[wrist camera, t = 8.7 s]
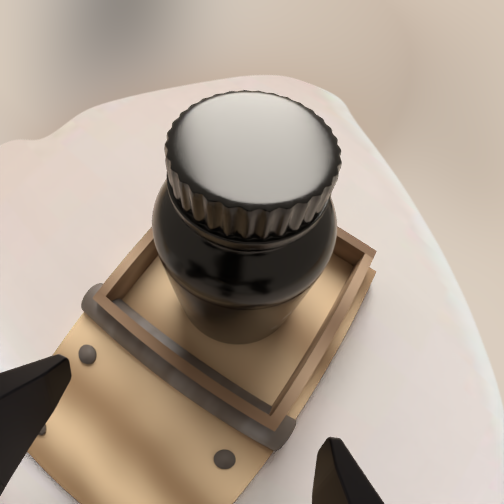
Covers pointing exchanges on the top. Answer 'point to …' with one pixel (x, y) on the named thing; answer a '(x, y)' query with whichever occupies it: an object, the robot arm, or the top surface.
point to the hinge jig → (186, 386)
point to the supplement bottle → (246, 211)
